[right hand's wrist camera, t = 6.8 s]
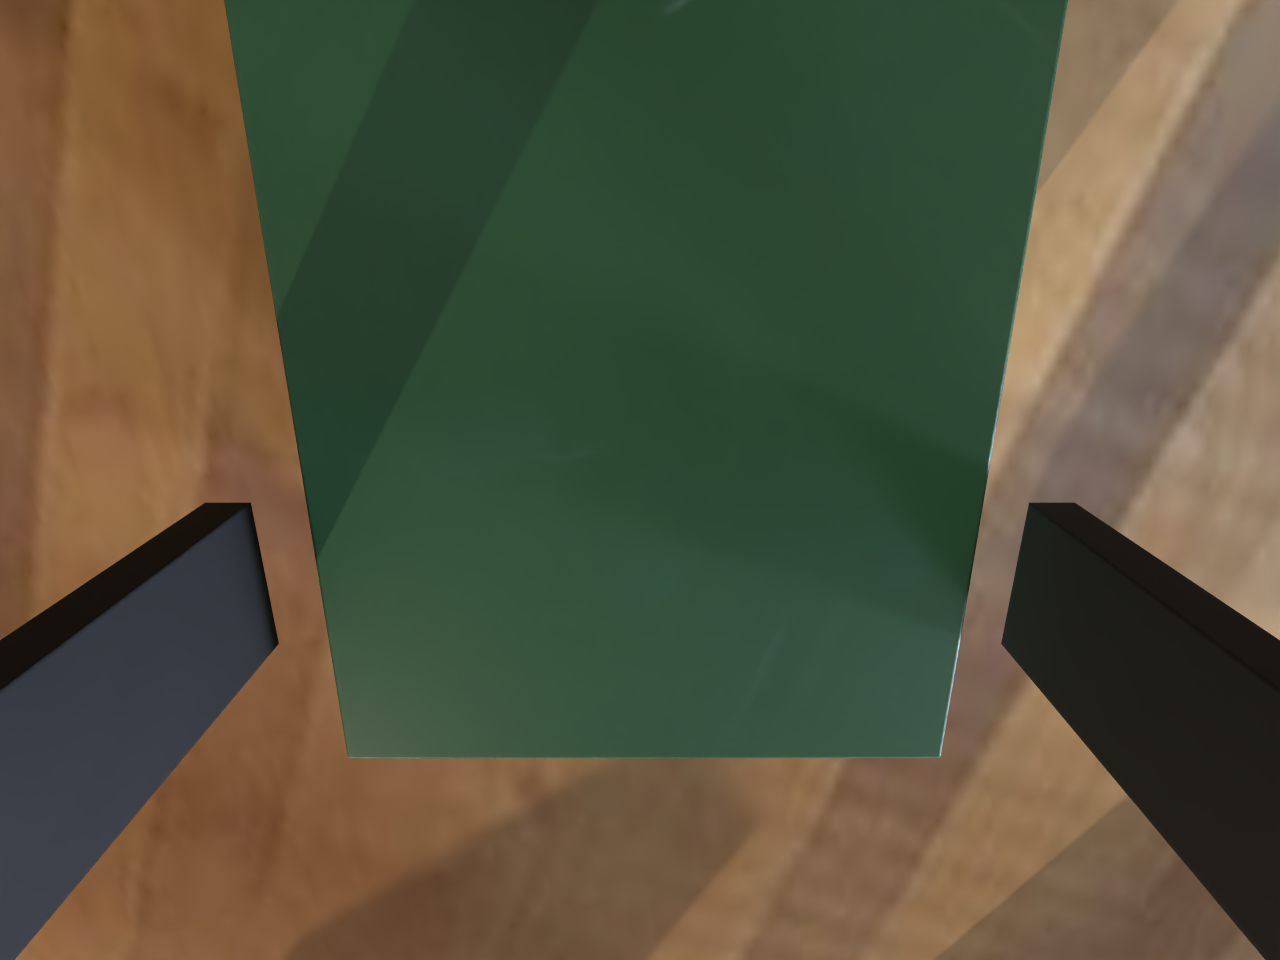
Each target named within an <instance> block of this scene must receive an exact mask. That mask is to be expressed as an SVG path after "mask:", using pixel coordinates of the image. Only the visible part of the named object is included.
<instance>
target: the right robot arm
mask: <svg viewBox="0 0 1280 960" xmlns="http://www.w3.org/2000/svg"><path fill="white" fill-rule="evenodd" d="M278 644H279V643H278V638H277V633H276V627H275V622H274V617H273V612H272V607H271V602H270V597H269V592H268V587H267V582H266V577H265V572H264V567H263V562H262V557H261V552H260V547H259V542H258V537H257V532H256V527H255V522H254V517H253V512H252V507H251V503H204V504H203V505H201V506H200V507H198V508H197V509H195V510H194V511H192V512H191V513H189V514H188V515H186V516H185V517H183V518H182V519H180V520H179V521H177V522H176V523H174V524H173V525H171V526H170V527H168V528H167V529H165V530H164V531H163V532H161V533H160V534H158V535H157V536H155V537H154V538H152V539H151V540H149V541H148V542H146V543H145V544H143V545H142V546H140V547H139V548H137V549H136V550H134V551H133V552H131V553H130V554H128V555H127V556H125V557H124V558H122V559H121V560H119V561H118V562H116V563H115V564H113V565H112V566H110V567H109V568H107V569H106V570H104V571H103V572H101V573H100V574H98V575H97V576H95V577H94V578H92V579H91V580H89V581H88V582H87V583H85V584H84V585H82V586H81V587H79V588H78V589H76V590H75V591H73V592H72V593H70V594H69V595H67V596H66V597H64V598H63V599H61V600H60V601H58V602H57V603H55V604H54V605H52V606H51V607H49V608H48V609H46V610H45V611H43V612H42V613H40V614H39V615H37V616H36V617H34V618H33V619H31V620H30V621H28V622H27V623H25V624H24V625H22V626H21V627H19V628H18V629H16V630H15V631H14V632H12V633H11V634H9V635H8V636H6V637H5V638H3V639H2V640H0V960H15V959H16V957H17V956H18V955H19V954H20V953H21V951H22V950H23V949H24V948H25V947H26V946H27V944H28V943H29V942H30V941H31V940H32V938H33V937H34V936H35V935H36V934H37V932H38V931H39V930H40V929H41V928H42V926H43V925H44V924H45V923H46V922H47V920H48V919H49V918H50V917H51V916H52V914H53V913H54V912H55V911H56V910H57V908H58V907H59V906H60V905H61V904H62V902H63V901H64V900H65V899H66V898H67V896H68V895H69V894H70V893H71V892H72V890H73V889H74V888H75V887H76V886H77V884H78V883H79V882H80V881H81V880H82V878H83V877H84V876H85V875H86V874H87V872H88V871H89V870H90V869H91V868H92V866H93V865H94V864H95V863H96V862H97V861H98V859H99V858H100V857H101V856H102V855H103V853H104V852H105V851H106V850H107V849H108V847H109V846H110V845H111V844H112V843H113V841H114V840H115V839H116V838H117V837H118V835H119V834H120V833H121V832H122V831H123V829H124V828H125V827H126V826H127V825H128V823H129V822H130V821H131V820H132V819H133V817H134V816H135V815H136V814H137V813H138V811H139V810H140V809H141V808H142V807H143V805H144V804H145V803H146V802H147V801H148V799H149V798H150V797H151V796H152V795H153V793H154V792H155V791H156V790H157V789H158V787H159V786H160V785H161V784H162V783H163V781H164V780H165V779H166V778H167V777H168V776H169V774H170V773H171V772H172V771H173V770H174V768H175V767H176V766H177V765H178V764H179V762H180V761H181V760H182V759H183V758H184V756H185V755H186V754H187V753H188V752H189V750H190V749H191V748H192V747H193V746H194V744H195V743H196V742H197V741H198V740H199V738H200V737H201V736H202V735H203V734H204V732H205V731H206V730H207V729H208V728H209V726H210V725H211V724H212V723H213V722H214V720H215V719H216V718H217V717H218V716H219V714H220V713H221V712H222V711H223V710H224V708H225V707H226V706H227V705H228V704H229V702H230V701H231V700H232V699H233V698H234V696H235V695H236V694H237V693H238V692H239V690H240V689H241V688H242V687H243V686H244V685H245V683H246V682H247V681H248V680H249V679H250V677H251V676H252V675H253V674H254V673H255V671H256V670H257V669H258V668H259V667H260V665H261V664H262V663H263V662H264V661H265V659H266V658H267V657H268V656H269V655H270V653H271V652H272V651H273V650H274V649H275V647H276V646H277V645H278ZM1001 644H1002V645H1003V646H1004V647H1005V649H1006V650H1007V651H1008V652H1009V653H1010V655H1011V656H1012V657H1013V658H1014V659H1015V661H1016V662H1017V663H1018V664H1019V665H1020V667H1021V668H1022V669H1023V670H1024V671H1025V673H1026V674H1027V675H1028V676H1029V677H1030V679H1031V680H1032V681H1033V682H1034V683H1035V685H1036V686H1037V687H1038V688H1039V689H1040V691H1041V692H1042V693H1043V694H1044V695H1045V696H1046V698H1047V699H1048V700H1049V701H1050V702H1051V704H1052V705H1053V706H1054V707H1055V708H1056V710H1057V711H1058V712H1059V713H1060V714H1061V716H1062V717H1063V718H1064V719H1065V720H1066V722H1067V723H1068V724H1069V725H1070V726H1071V728H1072V729H1073V730H1074V731H1075V732H1076V734H1077V735H1078V736H1079V737H1080V738H1081V740H1082V741H1083V742H1084V743H1085V744H1086V746H1087V747H1088V748H1089V749H1090V750H1091V752H1092V753H1093V754H1094V755H1095V756H1096V758H1097V759H1098V760H1099V761H1100V762H1101V764H1102V765H1103V766H1104V767H1105V768H1106V770H1107V771H1108V772H1109V773H1110V774H1111V776H1112V777H1113V778H1114V779H1115V780H1116V781H1117V783H1118V784H1119V785H1120V786H1121V787H1122V789H1123V790H1124V791H1125V792H1126V793H1127V795H1128V796H1129V797H1130V798H1131V799H1132V801H1133V802H1134V803H1135V804H1136V805H1137V807H1138V808H1139V809H1140V810H1141V811H1142V813H1143V814H1144V815H1145V816H1146V817H1147V819H1148V820H1149V821H1150V822H1151V823H1152V825H1153V826H1154V827H1155V828H1156V829H1157V831H1158V832H1159V833H1160V834H1161V835H1162V837H1163V838H1164V839H1165V840H1166V841H1167V843H1168V844H1169V845H1170V846H1171V847H1172V849H1173V850H1174V851H1175V852H1176V853H1177V855H1178V856H1179V857H1180V858H1181V859H1182V861H1183V862H1184V863H1185V864H1186V865H1187V866H1188V868H1189V869H1190V870H1191V871H1192V872H1193V874H1194V875H1195V876H1196V877H1197V878H1198V880H1199V881H1200V882H1201V883H1202V884H1203V886H1204V887H1205V888H1206V889H1207V890H1208V892H1209V893H1210V894H1211V895H1212V896H1213V898H1214V899H1215V900H1216V901H1217V902H1218V904H1219V905H1220V906H1221V907H1222V908H1223V910H1224V911H1225V912H1226V913H1227V914H1228V916H1229V917H1230V918H1231V919H1232V920H1233V922H1234V923H1235V924H1236V925H1237V926H1238V928H1239V929H1240V930H1241V931H1242V932H1243V934H1244V935H1245V936H1246V937H1247V938H1248V940H1249V941H1250V942H1251V943H1252V944H1253V946H1254V947H1255V948H1256V949H1257V950H1258V951H1259V953H1260V954H1261V955H1262V956H1263V957H1264V959H1265V960H1280V640H1278V639H1277V638H1275V637H1274V636H1272V635H1271V634H1269V633H1268V632H1266V631H1265V630H1264V629H1262V628H1261V627H1259V626H1258V625H1256V624H1255V623H1253V622H1252V621H1250V620H1249V619H1247V618H1246V617H1244V616H1243V615H1241V614H1240V613H1238V612H1237V611H1235V610H1234V609H1232V608H1231V607H1229V606H1228V605H1226V604H1225V603H1223V602H1222V601H1220V600H1219V599H1217V598H1216V597H1214V596H1213V595H1211V594H1210V593H1208V592H1207V591H1205V590H1204V589H1202V588H1201V587H1199V586H1198V585H1196V584H1195V583H1193V582H1192V581H1191V580H1189V579H1188V578H1186V577H1185V576H1183V575H1182V574H1180V573H1179V572H1177V571H1176V570H1174V569H1173V568H1171V567H1170V566H1168V565H1167V564H1165V563H1164V562H1162V561H1161V560H1159V559H1158V558H1156V557H1155V556H1153V555H1152V554H1150V553H1149V552H1147V551H1146V550H1144V549H1143V548H1141V547H1140V546H1138V545H1137V544H1135V543H1134V542H1132V541H1131V540H1129V539H1128V538H1126V537H1125V536H1123V535H1122V534H1120V533H1119V532H1117V531H1116V530H1115V529H1113V528H1112V527H1110V526H1109V525H1107V524H1106V523H1104V522H1103V521H1101V520H1100V519H1098V518H1097V517H1095V516H1094V515H1092V514H1091V513H1089V512H1088V511H1086V510H1085V509H1083V508H1082V507H1080V506H1079V505H1077V504H1076V503H1029V507H1028V512H1027V517H1026V522H1025V527H1024V532H1023V537H1022V542H1021V547H1020V552H1019V557H1018V562H1017V567H1016V572H1015V577H1014V582H1013V587H1012V592H1011V597H1010V602H1009V607H1008V612H1007V617H1006V622H1005V627H1004V633H1003V638H1002V643H1001Z"/></svg>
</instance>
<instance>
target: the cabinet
mask: <svg viewBox="0 0 1280 960" xmlns="http://www.w3.org/2000/svg"><path fill="white" fill-rule="evenodd" d="M224 1H225V8H226V14H227V20H228V26H229V32H230V38H231V44H232V50H233V56H234V63H235V69H236V75H237V81H238V87H239V93H240V99H241V105H242V112H243V118H244V124H245V130H246V136H247V142H248V148H249V154H250V160H251V167H252V173H253V179H254V185H255V191H256V197H257V203H258V209H259V216H260V222H261V228H262V234H263V240H264V246H265V252H266V258H267V264H268V271H269V277H270V283H271V289H272V295H273V301H274V307H275V313H276V320H277V326H278V332H279V338H280V344H281V350H282V356H283V362H284V368H285V375H286V381H287V387H288V393H289V399H290V405H291V411H292V417H293V424H294V430H295V436H296V442H297V448H298V454H299V460H300V466H301V472H302V479H303V485H304V491H305V497H306V503H307V509H308V515H309V521H310V528H311V534H312V540H313V546H314V552H315V558H316V564H317V570H318V576H319V583H320V589H321V595H322V601H323V607H324V613H325V619H326V625H327V632H328V638H329V644H330V650H331V656H332V662H333V668H334V674H335V680H336V687H337V693H338V699H339V705H340V711H341V717H342V723H343V729H344V736H345V742H346V748H347V754H348V757H349V758H939V757H940V756H941V751H942V745H943V740H944V734H945V728H946V722H947V716H948V710H949V704H950V698H951V692H952V686H953V680H954V674H955V668H956V662H957V656H958V650H959V644H960V638H961V633H962V627H963V621H964V615H965V609H966V603H967V597H968V591H969V585H970V579H971V573H972V567H973V561H974V555H975V549H976V543H977V537H978V531H979V526H980V520H981V514H982V508H983V502H984V496H985V490H986V484H987V478H988V472H989V466H990V460H991V454H992V448H993V442H994V436H995V430H996V424H997V419H998V413H999V407H1000V401H1001V395H1002V389H1003V383H1004V377H1005V371H1006V365H1007V359H1008V353H1009V347H1010V341H1011V335H1012V329H1013V323H1014V317H1015V312H1016V306H1017V300H1018V294H1019V288H1020V282H1021V276H1022V270H1023V264H1024V258H1025V252H1026V246H1027V240H1028V234H1029V228H1030V222H1031V216H1032V210H1033V205H1034V199H1035V193H1036V187H1037V181H1038V175H1039V169H1040V163H1041V157H1042V151H1043V145H1044V139H1045V133H1046V127H1047V121H1048V115H1049V109H1050V104H1051V98H1052V92H1053V86H1054V80H1055V74H1056V68H1057V62H1058V56H1059V50H1060V44H1061V38H1062V32H1063V26H1064V20H1065V14H1066V8H1067V2H1068V0H224Z"/></svg>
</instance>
